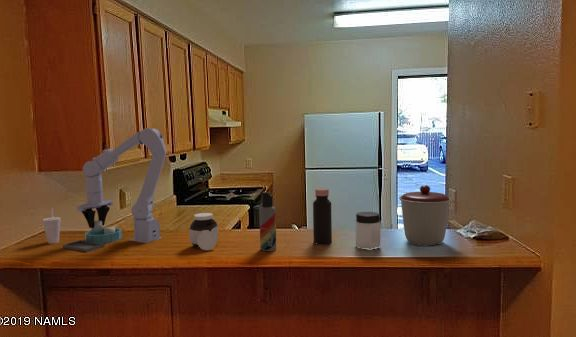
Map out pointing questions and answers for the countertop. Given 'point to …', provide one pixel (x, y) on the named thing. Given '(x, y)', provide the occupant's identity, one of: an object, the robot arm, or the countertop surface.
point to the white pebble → (97, 226)
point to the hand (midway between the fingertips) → (96, 226)
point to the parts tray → (83, 245)
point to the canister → (425, 216)
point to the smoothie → (52, 228)
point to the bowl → (103, 236)
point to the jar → (367, 230)
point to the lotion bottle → (267, 224)
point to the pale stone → (109, 230)
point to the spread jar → (204, 231)
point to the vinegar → (322, 217)
